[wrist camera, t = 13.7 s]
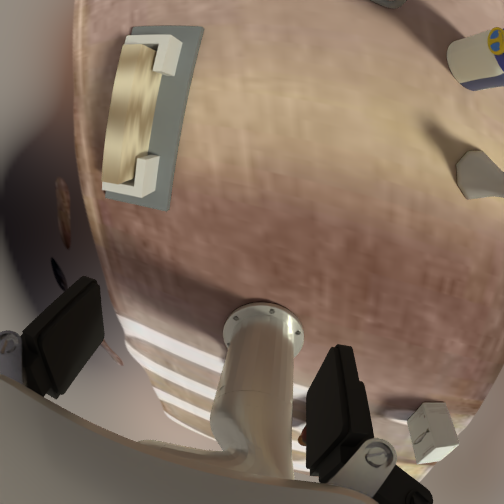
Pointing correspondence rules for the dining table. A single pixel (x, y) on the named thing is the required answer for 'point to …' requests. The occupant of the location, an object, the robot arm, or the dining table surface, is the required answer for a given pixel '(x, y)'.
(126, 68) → the slat
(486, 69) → the water bottle
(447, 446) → the supplement box
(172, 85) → the frame
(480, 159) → the flask
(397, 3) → the newton's cradle
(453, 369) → the dining table surface
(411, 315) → the dining table surface
